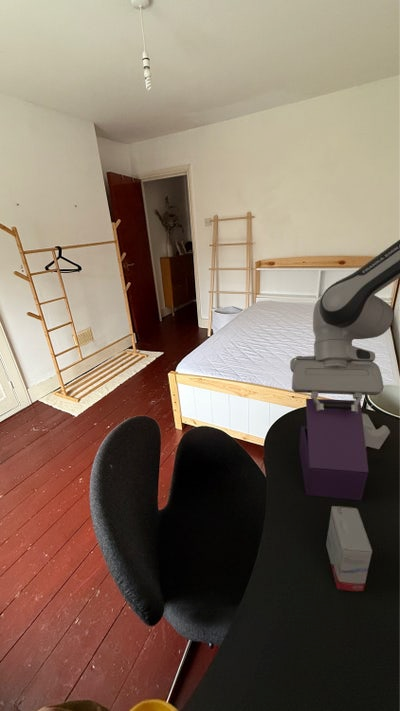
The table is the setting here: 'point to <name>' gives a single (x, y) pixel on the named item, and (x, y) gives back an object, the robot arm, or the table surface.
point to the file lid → (336, 436)
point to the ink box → (348, 548)
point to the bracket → (373, 433)
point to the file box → (329, 477)
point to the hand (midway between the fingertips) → (336, 412)
